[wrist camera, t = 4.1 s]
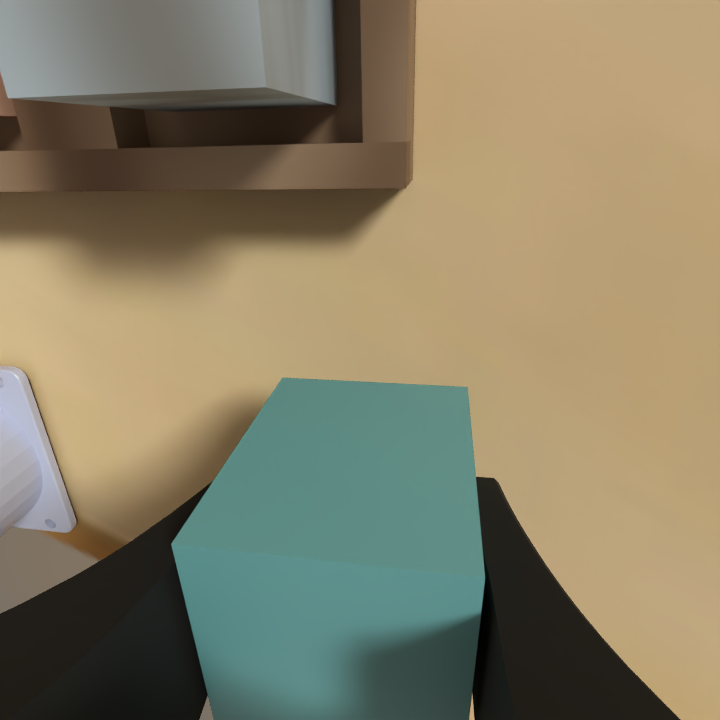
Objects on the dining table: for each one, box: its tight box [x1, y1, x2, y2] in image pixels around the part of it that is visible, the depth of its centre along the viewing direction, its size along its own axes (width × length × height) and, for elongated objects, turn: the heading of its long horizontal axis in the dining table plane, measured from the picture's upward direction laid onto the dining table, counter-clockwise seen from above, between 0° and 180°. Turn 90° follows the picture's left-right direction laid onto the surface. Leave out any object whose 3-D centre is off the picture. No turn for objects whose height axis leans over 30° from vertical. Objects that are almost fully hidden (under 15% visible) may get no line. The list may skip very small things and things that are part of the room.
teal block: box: [171, 378, 485, 720], centre depth 10 cm, size 4×4×6 cm
